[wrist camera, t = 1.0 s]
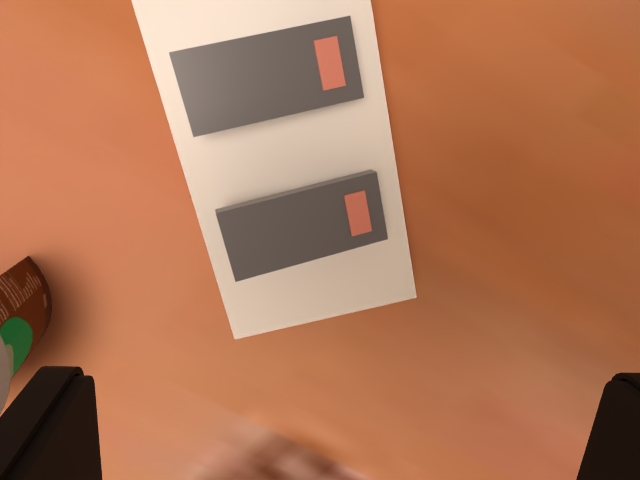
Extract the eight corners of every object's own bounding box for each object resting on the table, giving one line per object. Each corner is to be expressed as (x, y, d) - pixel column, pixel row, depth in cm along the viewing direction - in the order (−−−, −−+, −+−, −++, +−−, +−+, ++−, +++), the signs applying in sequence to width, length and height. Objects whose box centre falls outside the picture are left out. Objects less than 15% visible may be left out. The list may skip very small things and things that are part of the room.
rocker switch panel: (317, -258, 24) (325, -320, 20) (404, 279, 34) (420, 303, 30) (82, -209, 24) (46, -263, 20) (238, 317, 33) (233, 346, 30)
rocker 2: (370, 169, 27) (377, 172, 26) (382, 234, 29) (389, 239, 27) (215, 209, 26) (215, 214, 25) (234, 275, 27) (235, 283, 26)
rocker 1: (345, 18, 25) (351, 15, 24) (358, 97, 26) (365, 97, 25) (170, 54, 23) (168, 52, 22) (193, 135, 25) (193, 137, 24)
